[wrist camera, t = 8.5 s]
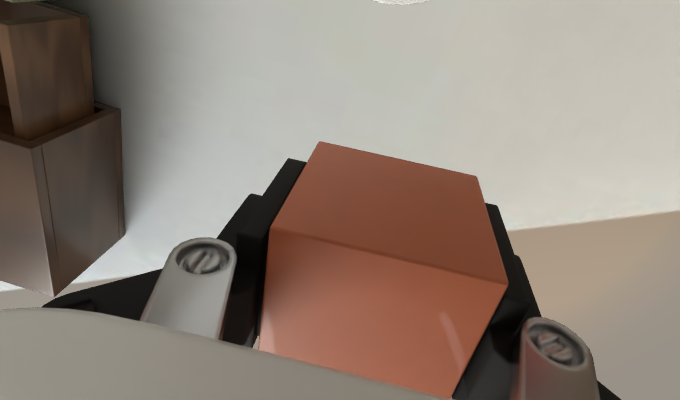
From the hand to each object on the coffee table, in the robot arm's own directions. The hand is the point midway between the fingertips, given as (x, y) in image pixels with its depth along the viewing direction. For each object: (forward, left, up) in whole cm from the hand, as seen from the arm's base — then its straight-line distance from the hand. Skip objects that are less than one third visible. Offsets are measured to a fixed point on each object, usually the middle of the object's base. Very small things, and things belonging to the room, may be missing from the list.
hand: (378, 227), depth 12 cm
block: (0, 0, 0) cm, 0 cm away
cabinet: (+27, +14, -18) cm, 36 cm away
